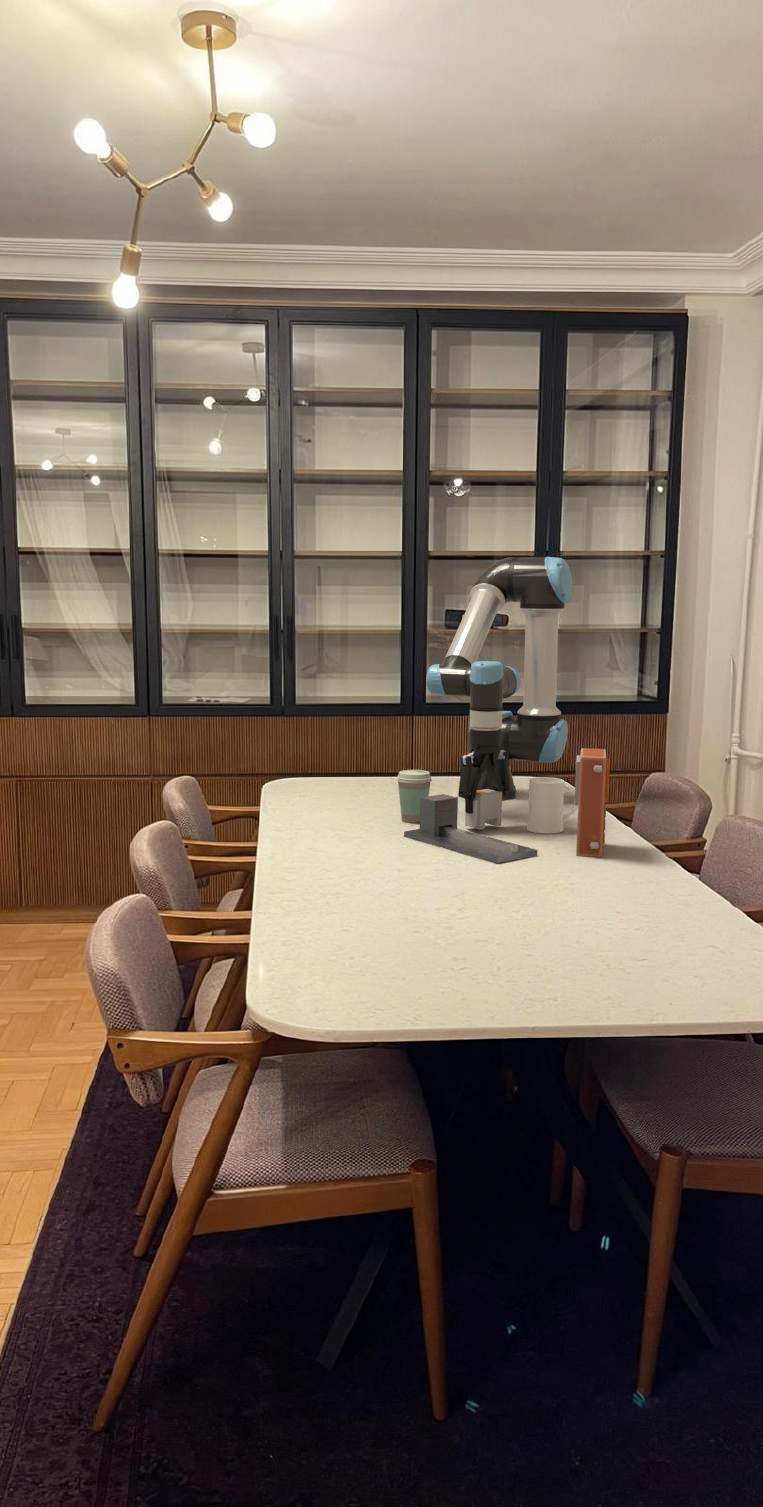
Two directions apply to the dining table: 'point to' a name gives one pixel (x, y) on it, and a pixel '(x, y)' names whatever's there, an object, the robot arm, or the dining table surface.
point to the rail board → (471, 847)
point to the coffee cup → (412, 793)
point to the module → (488, 808)
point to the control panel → (591, 800)
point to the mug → (547, 805)
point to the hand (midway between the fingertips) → (483, 824)
